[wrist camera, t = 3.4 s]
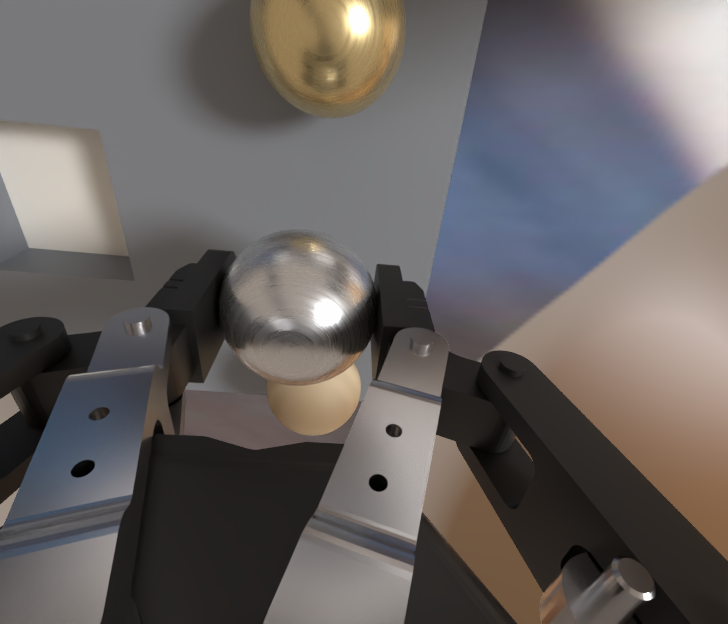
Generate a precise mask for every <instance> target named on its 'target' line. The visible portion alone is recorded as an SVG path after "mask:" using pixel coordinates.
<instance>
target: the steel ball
mask: <svg viewBox="0 0 728 624" xmlns="http://www.w3.org/2000/svg"><path fill="white" fill-rule="evenodd" d="M218 307H219V320H220V325H221V329H222V331H223V334H224V337H225V340H226V342H227V344H228V345H229V347H230V349H231V350H232V351H233V353H234V354H235V356H236V357H237V358H238V359H239V360H240V362H241V363H242V364H244V365H245V366H246V367H247V368H248V369H250V370H251V371H253V372H254V373H255V374H257V375H259V376H261V377H262V378H264V379H267V380H269V381H272V382H275V383H278V384H283V385H290V386H306V385H312V384H317V383H321V382H324V381H327V380H330V379H332V378H334V377H336V376H337V375H339V374H341V373H343V372H344V371H345V370H347V369H348V368H349V367H351V366H352V365H353V364H354V363H355V362H356V361H357V360H358V359H359V357H360V356H361V355H362V353H363V352H364V351H365V349H366V347H367V345H368V344H369V342H370V340H371V338H372V335H373V332H374V328H375V323H376V313H377V295H376V290H375V286H374V282H373V280H372V278H371V275H370V273H369V271H368V269H367V268H366V266H365V264H364V263H363V261H362V260H361V259H360V258H359V256H358V255H357V254H356V253H355V252H354V251H353V250H352V249H350V248H349V247H348V246H347V245H345V244H344V243H343V242H341V241H340V240H338V239H336V238H334V237H332V236H330V235H327V234H325V233H322V232H318V231H314V230H308V229H289V230H282V231H278V232H274V233H271V234H268V235H266V236H264V237H262V238H260V239H258V240H256V241H255V242H253V243H252V244H250V245H249V246H248V247H246V248H245V249H244V250H243V251H242V252H241V253H240V254H239V255H238V256H237V258H236V259H235V260H234V261H233V263H232V264H231V266H230V267H229V269H228V271H227V273H226V275H225V278H224V280H223V283H222V286H221V289H220V295H219V303H218Z"/></svg>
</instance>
